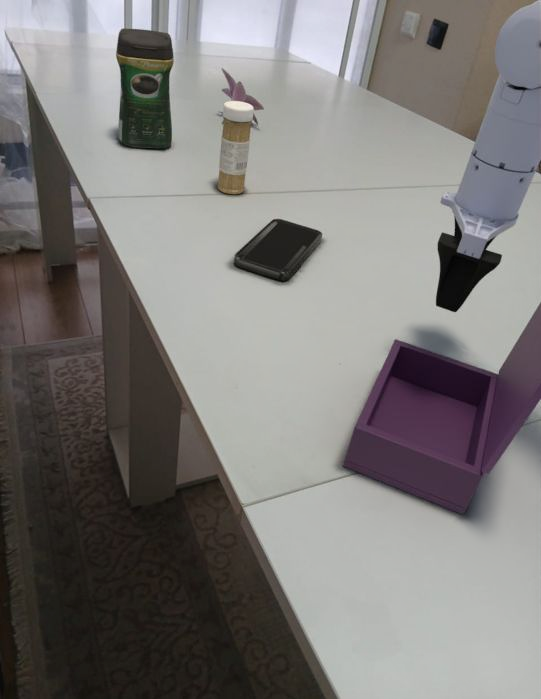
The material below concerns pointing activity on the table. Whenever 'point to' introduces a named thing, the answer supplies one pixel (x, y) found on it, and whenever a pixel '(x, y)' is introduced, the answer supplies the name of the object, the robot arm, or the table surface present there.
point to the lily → (240, 94)
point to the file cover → (515, 392)
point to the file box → (425, 426)
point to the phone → (278, 249)
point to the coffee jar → (145, 88)
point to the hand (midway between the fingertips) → (452, 290)
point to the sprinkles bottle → (234, 146)
